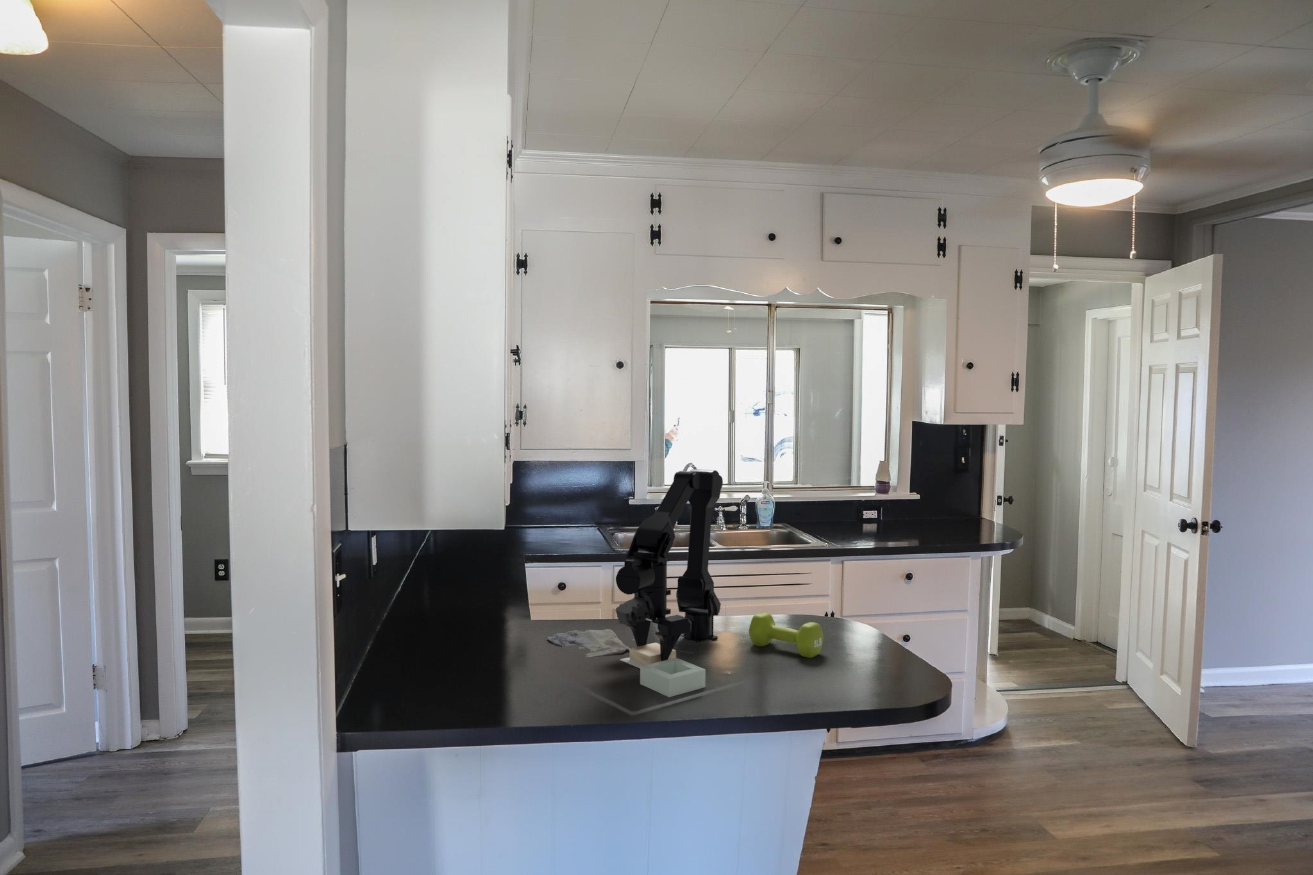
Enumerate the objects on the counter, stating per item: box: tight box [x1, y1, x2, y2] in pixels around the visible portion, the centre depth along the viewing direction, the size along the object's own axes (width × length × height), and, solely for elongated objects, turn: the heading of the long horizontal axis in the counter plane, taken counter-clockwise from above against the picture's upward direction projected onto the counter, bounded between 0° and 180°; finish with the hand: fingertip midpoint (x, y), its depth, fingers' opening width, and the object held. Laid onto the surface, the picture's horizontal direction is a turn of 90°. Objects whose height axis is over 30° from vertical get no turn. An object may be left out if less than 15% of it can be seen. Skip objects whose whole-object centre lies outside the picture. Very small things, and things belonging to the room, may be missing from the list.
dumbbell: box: [748, 611, 824, 659], centre depth 187 cm, size 16×8×7 cm, turn 49°
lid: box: [629, 642, 677, 666], centre depth 176 cm, size 7×7×2 cm
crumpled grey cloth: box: [547, 628, 630, 658], centre depth 188 cm, size 18×15×2 cm
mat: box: [619, 656, 642, 669], centre depth 176 cm, size 10×10×1 cm
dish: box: [639, 657, 707, 698], centre depth 161 cm, size 9×9×4 cm
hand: (652, 657), depth 176 cm, fingers open, 7 cm apart
